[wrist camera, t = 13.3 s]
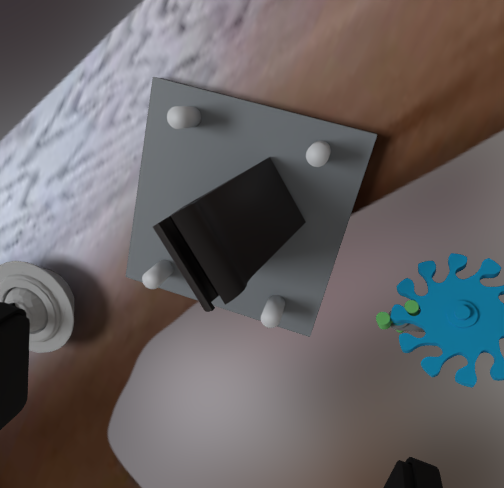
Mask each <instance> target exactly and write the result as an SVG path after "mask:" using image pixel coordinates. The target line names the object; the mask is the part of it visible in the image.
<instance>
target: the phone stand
mask: <svg viewBox="0 0 504 488" xmlns="http://www.w3.org/2000/svg"><path fill="white" fill-rule="evenodd" d="M305 223H306V221H305V220H304V218H303V216H302V214H301V212H300V210H299V209H298V207H297V205H296V203H295V201H294V200H293V198H292V196H291V194H290V192H289V190H288V189H287V187H286V185H285V183H284V181H283V180H282V178H281V176H280V174H279V172H278V170H277V169H276V167H275V165H274V163H273V161H272V160H271V158H270V157H268V158H267V159H265V160H263V161H261V162H260V163H258V164H256V165H255V166H253V167H251V168H249V169H248V170H246V171H244V172H242V173H241V174H239V175H237V176H235V177H234V178H232V179H230V180H228V181H227V182H225V183H223V184H222V185H220V186H218V187H216V188H215V189H213V190H211V191H209V192H208V193H206V194H204V195H202V196H201V197H199V198H197V199H196V200H194V201H192V202H190V203H189V204H187V205H185V206H183V207H182V208H180V209H179V210H177V211H176V212H174V213H173V214H171V215H170V216H169V217H167V218H166V219H164V220H162V221H161V222H159V223H157V224H156V225H154V226H153V229H154V230H155V232H156V233H157V235H158V237H159V238H160V240H161V241H162V243H163V245H164V246H165V248H166V249H167V251H168V253H169V254H170V256H171V257H172V259H173V261H174V262H175V264H176V265H177V267H178V269H179V270H180V272H181V273H182V275H183V277H184V278H185V280H186V281H187V283H188V285H189V286H190V288H191V289H192V291H193V293H194V294H195V296H196V298H197V299H198V301H199V302H200V304H201V305H202V307H203V309H204V310H205V311H207V312H209V311H212V310H213V309H214V308H215V307H214V306H213V304H212V303H211V302H212V301H213V300H214V299H216V298H217V297H218V296H220V297H221V299H222V300H223V302H224V304H225V305H226V304H227V303H229V302H230V301H232V300H233V299H235V298H236V297H237V296H239V295H240V294H241V293H242V292H243V291H244V290H245V288H246V286H247V283H248V281H249V280H250V278H251V277H252V276H253V275H254V274H255V273H256V272H257V271H258V270H259V269H260V268H261V267H262V266H263V265H264V264H265V263H266V262H267V261H268V260H269V259H270V258H271V257H272V256H273V255H274V254H275V253H276V252H277V251H278V250H279V249H280V248H281V247H282V246H283V245H284V244H285V243H286V242H287V241H288V240H289V239H290V238H291V237H292V236H293V235H294V234H295V233H296V232H297V231H298V230H299V229H300V228H301V227H302V226H303V225H304V224H305Z"/></svg>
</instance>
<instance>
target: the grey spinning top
mask: <svg viewBox="0 0 504 488" xmlns="http://www.w3.org/2000/svg"><path fill="white" fill-rule="evenodd" d="M0 302H5V303H8V304H10V305H13V306H16V307H18V308H21V309H23V310H25V312H26V315H27V318H29V320H30V336H29V350H30V351H34V352H38V353H43V352H51V351H54V350H57V349H59V348H61V347H62V346H63V345H64V344H65V343H67V341H68V340H69V338H70V337H71V334H72V331H73V327H74V313H73V312H74V296H73V294H72V291H71V289H70V287H69V285H68V284H67V283H66V282H65V280H64V279H63V278H62V277H61V276H60V275H58V274H56V273H55V272H53V271H51V270H48V269H44V268H40V267H38V266H36V265H33V264H30V263H28V262H21V261H12V262H6V263H4V264H2V265H0Z"/></svg>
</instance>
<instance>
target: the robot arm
mask: <svg viewBox="0 0 504 488" xmlns="http://www.w3.org/2000/svg"><path fill="white" fill-rule="evenodd" d="M29 336H30V320H29V318H27V315H26V312H25V310H23V309H21V308H18V307H16V306H13V305H10V304H8V303H5V302H0V430H1V429H2V428H3V427H4V426H5V425H6V424H7V423H8V422H9V421H11V420H12V419H13V418H14V417H15V416H16V415H17V414H18V413H19V412H20V411H21V410H22V409H23V407H24V405H25V404H26V401H27V394H28V365H29ZM384 488H443V487H442V482H441V477H440V472H439V469H438V468H437V467H435V466H433V465H431V464H428V463H425V462H423V461H420V460H417V459H415V458H412V457H409V458H408V459H407V460H406V462H403V461H400V460H399V461H398V462H397V463H396V465H395V467H394V469H393V471H392V472H391V474H390V477H389V478H388V480H387V482H386V484H385V486H384Z"/></svg>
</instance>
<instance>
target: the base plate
mask: <svg viewBox="0 0 504 488" xmlns="http://www.w3.org/2000/svg"><path fill="white" fill-rule="evenodd" d="M376 137H377V134H376V133H372V132H368V131H364V130H360V129H356V128H352V127H348V126H344V125H341V124H337V123H333V122H329V121H325V120H321V119H317V118H313V117H309V116H306V115H302V114H298V113H294V112H290V111H286V110H282V109H278V108H274V107H271V106H267V105H263V104H259V103H255V102H251V101H247V100H243V99H239V98H236V97H232V96H228V95H224V94H220V93H216V92H212V91H208V90H204V89H201V88H197V87H193V86H189V85H185V84H181V83H177V82H173V81H169V80H165V79H162V78H157V77H153V80H152V87H151V94H150V102H149V109H148V116H147V124H146V131H145V138H144V146H143V153H142V160H141V168H140V175H139V182H138V190H137V197H136V204H135V212H134V219H133V226H132V234H131V241H130V248H129V256H128V263H127V270H126V277H128V278H131V279H134V280H137V281H140V282H143V284H144V285H145V286H146V287H147V288H149V289H156V288H157V287H158V288H161V289H164V290H168V291H171V292H174V293H177V294H180V295H183V296H186V297H189V298H192V299H195V300H198V299H197V298H196V296H195V294H194V293H193V291H192V289H191V288H190V286H189V285H188V283H187V281H186V280H185V278H184V277H183V275H182V273H181V272H180V270H179V269H178V267H177V265H176V264H175V262H174V261H173V259H172V257H171V256H170V254H169V253H168V251H167V249H166V248H165V246H164V245H163V243H162V241H161V240H160V238H159V237H158V235H157V233H156V232H155V230H154V229H153V226H154V225H156V224H157V223H159V222H161V221H162V220H164V219H166V218H167V217H169V216H170V215H171V214H173V213H174V212H176V211H177V210H179V209H180V208H182V207H183V206H185V205H187V204H189V203H190V202H192V201H194V200H196V199H197V198H199V197H201V196H202V195H204V194H206V193H208V192H209V191H211V190H213V189H215V188H216V187H218V186H220V185H222V184H223V183H225V182H227V181H228V180H230V179H232V178H234V177H235V176H237V175H239V174H241V173H242V172H244V171H246V170H248V169H249V168H251V167H253V166H255V165H256V164H258V163H260V162H261V161H263V160H265V159H267V158H268V157H270V158H271V160H272V161H273V163H274V165H275V167H276V169H277V170H278V172H279V174H280V176H281V178H282V180H283V181H284V183H285V185H286V187H287V189H288V190H289V192H290V194H291V196H292V198H293V200H294V201H295V203H296V205H297V207H298V209H299V210H300V212H301V214H302V216H303V218H304V220H305V221H306V223H305V224H304V225H303V226H302V227H301V228H300V229H299V230H298V231H297V232H296V233H295V234H294V235H293V236H292V237H291V238H290V239H289V240H288V241H287V242H286V243H285V244H284V245H283V246H282V247H281V248H280V249H279V250H278V251H277V252H276V253H275V254H274V255H273V256H272V257H271V258H270V259H269V260H268V261H267V262H266V263H265V264H264V265H263V266H262V267H261V268H260V269H259V270H258V271H257V272H256V273H255V274H254V275H253V276H252V277H251V278H250V280H249V281H248V283H247V286H246V288H245V290H244V291H243V292H242V293H241V294H240V295H239V296H237V297H236V298H235V299H233V300H232V301H230V302H229V303H227V304H226V305H225V304H224V302H223V300H222V299H221V297H220V296H218V297H217V298H216V299H214V300H213V301H212V302H211V303H212V304H213V305H214V306H217V307H220V308H223V309H226V310H229V311H232V312H235V313H238V314H241V315H244V316H247V317H250V318H253V319H256V320H260V321H261V322H262V323H263V325H264V326H266V327H269V328H274V327H276V326H278V327H281V328H284V329H287V330H290V331H293V332H296V333H299V334H303V335H306V336H309V337H310V335H311V332H312V329H313V326H314V323H315V320H316V317H317V314H318V311H319V308H320V305H321V302H322V299H323V296H324V293H325V290H326V287H327V284H328V281H329V278H330V275H331V272H332V269H333V266H334V263H335V260H336V257H337V254H338V251H339V248H340V245H341V242H342V239H343V236H344V233H345V230H346V227H347V224H348V221H349V218H350V215H351V212H352V209H353V206H354V203H355V200H356V197H357V194H358V191H359V188H360V185H361V182H362V179H363V176H364V173H365V170H366V167H367V164H368V161H369V158H370V155H371V152H372V149H373V146H374V143H375V140H376Z"/></svg>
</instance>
